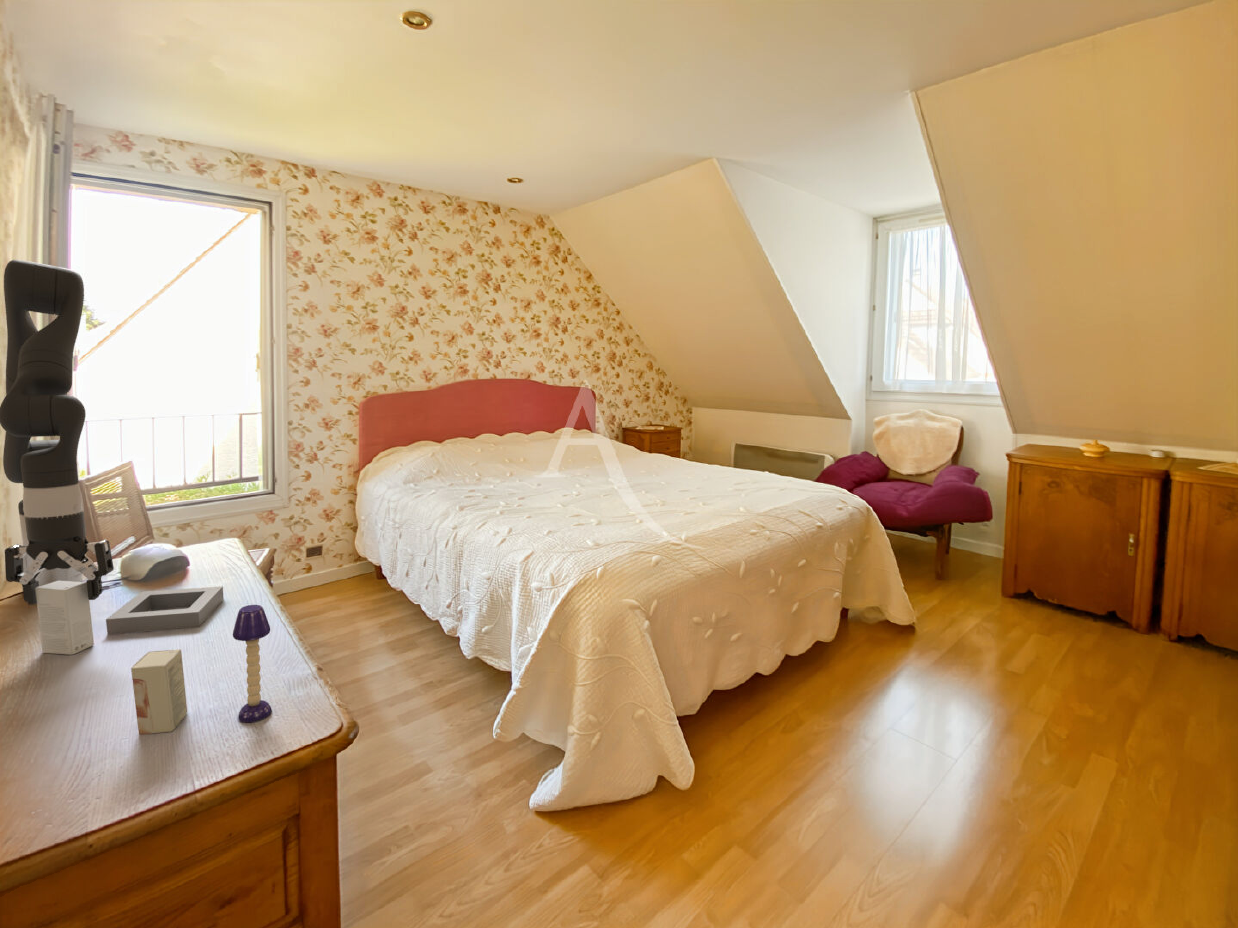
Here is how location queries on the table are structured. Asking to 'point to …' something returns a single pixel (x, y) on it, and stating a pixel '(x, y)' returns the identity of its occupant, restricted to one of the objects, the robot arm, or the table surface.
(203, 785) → the table surface
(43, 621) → the skincare box
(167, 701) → the skincare box
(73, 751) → the table surface
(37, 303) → the robot arm
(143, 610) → the socket block
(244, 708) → the toy lamp
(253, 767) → the table surface
